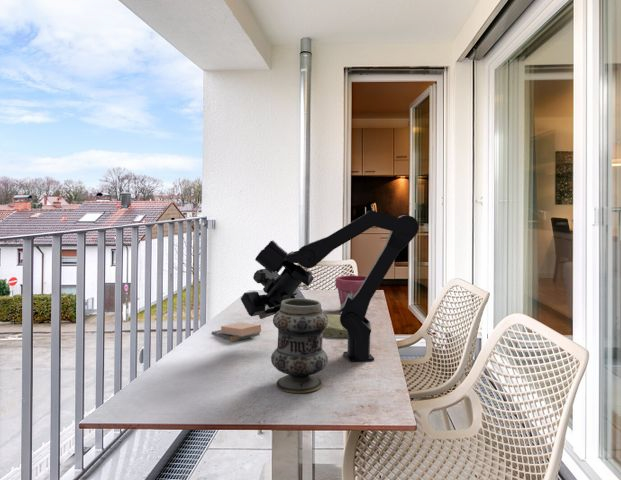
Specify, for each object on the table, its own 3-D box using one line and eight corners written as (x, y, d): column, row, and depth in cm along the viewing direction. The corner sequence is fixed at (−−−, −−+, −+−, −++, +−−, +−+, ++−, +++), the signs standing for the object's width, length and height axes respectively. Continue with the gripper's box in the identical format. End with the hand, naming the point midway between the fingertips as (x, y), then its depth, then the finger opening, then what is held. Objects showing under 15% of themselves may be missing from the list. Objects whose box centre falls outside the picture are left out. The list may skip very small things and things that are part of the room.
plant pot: (328, 308, 169) (329, 275, 168) (361, 306, 174) (362, 274, 173) (344, 317, 156) (345, 281, 155) (379, 314, 160) (380, 279, 160)
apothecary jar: (338, 384, 95) (340, 301, 94) (300, 401, 86) (301, 310, 85) (298, 370, 103) (299, 294, 102) (259, 384, 94) (259, 301, 93)
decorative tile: (307, 321, 152) (307, 310, 151) (365, 325, 148) (365, 314, 147) (293, 336, 133) (293, 324, 133) (360, 340, 129) (360, 328, 129)
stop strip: (259, 335, 132) (259, 331, 132) (231, 341, 125) (231, 337, 125) (257, 334, 133) (257, 330, 133) (229, 340, 126) (229, 336, 125)
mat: (256, 334, 132) (256, 333, 132) (231, 340, 126) (231, 338, 126) (236, 328, 139) (236, 326, 139) (211, 333, 133) (211, 331, 133)
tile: (260, 324, 129) (240, 322, 136) (241, 329, 124) (221, 326, 131) (261, 332, 129) (240, 329, 136) (241, 336, 124) (221, 333, 131)
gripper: (298, 257, 125) (273, 290, 134) (245, 262, 112) (220, 298, 121) (318, 288, 120) (290, 321, 129) (264, 297, 107) (237, 333, 116)
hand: (260, 317), depth 123 cm, fingers closed
